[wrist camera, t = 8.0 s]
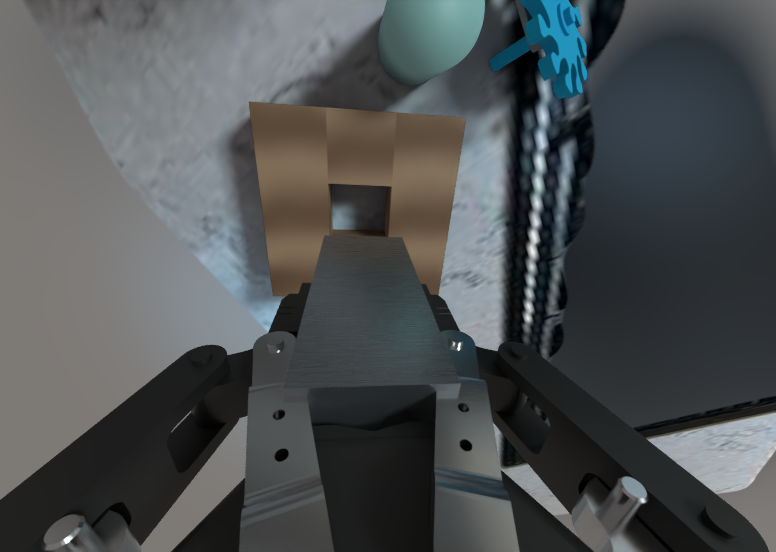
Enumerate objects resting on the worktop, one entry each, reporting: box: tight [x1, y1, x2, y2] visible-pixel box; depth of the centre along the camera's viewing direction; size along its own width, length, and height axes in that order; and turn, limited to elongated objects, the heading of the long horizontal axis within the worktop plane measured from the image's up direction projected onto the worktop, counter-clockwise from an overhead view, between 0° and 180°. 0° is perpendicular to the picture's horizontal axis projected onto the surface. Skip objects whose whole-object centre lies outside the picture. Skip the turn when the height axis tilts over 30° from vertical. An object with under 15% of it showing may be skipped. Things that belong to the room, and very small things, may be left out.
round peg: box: [378, 0, 485, 85], centre depth 21 cm, size 6×6×8 cm
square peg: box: [283, 235, 461, 431], centre depth 12 cm, size 4×4×10 cm
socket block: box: [249, 102, 466, 296], centre depth 28 cm, size 16×16×4 cm
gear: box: [485, 0, 587, 99], centre depth 23 cm, size 11×6×10 cm
